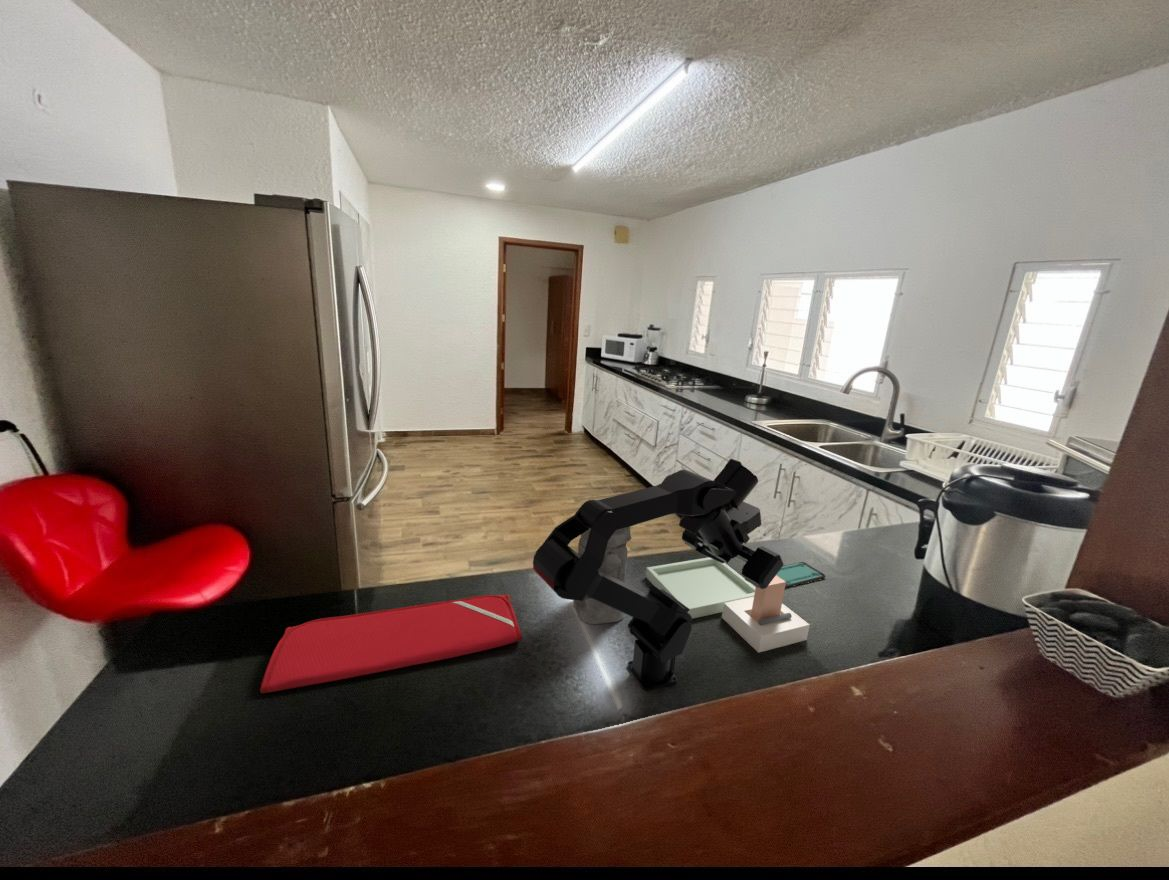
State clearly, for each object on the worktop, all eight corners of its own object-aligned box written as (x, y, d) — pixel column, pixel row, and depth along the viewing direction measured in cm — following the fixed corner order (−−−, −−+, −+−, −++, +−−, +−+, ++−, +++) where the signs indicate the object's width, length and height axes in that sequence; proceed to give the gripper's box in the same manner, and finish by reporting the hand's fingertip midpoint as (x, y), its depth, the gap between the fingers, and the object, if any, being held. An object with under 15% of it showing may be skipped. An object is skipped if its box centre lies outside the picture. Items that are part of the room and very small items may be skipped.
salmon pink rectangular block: (757, 634, 92) (766, 586, 89) (748, 626, 94) (757, 579, 91) (776, 629, 93) (786, 582, 91) (768, 622, 96) (776, 575, 93)
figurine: (608, 587, 105) (616, 484, 99) (630, 626, 92) (641, 511, 85) (567, 591, 102) (572, 486, 96) (583, 633, 89) (590, 514, 83)
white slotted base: (758, 652, 86) (762, 632, 85) (721, 617, 96) (724, 598, 95) (806, 639, 91) (810, 620, 90) (766, 607, 101) (770, 589, 100)
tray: (685, 620, 95) (686, 609, 94) (645, 576, 110) (646, 567, 109) (761, 603, 102) (763, 593, 101) (714, 564, 117) (716, 556, 117)
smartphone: (759, 570, 114) (803, 560, 120) (758, 575, 114) (802, 564, 120) (782, 586, 108) (827, 575, 114) (781, 591, 108) (826, 579, 114)
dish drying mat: (288, 633, 85) (285, 616, 84) (508, 601, 99) (508, 586, 98) (260, 699, 71) (257, 679, 70) (522, 651, 84) (523, 634, 83)
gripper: (789, 511, 74) (812, 562, 82) (702, 475, 89) (729, 522, 97) (748, 564, 71) (776, 611, 79) (666, 518, 86) (697, 562, 94)
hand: (743, 572), depth 88 cm, fingers open, 9 cm apart
